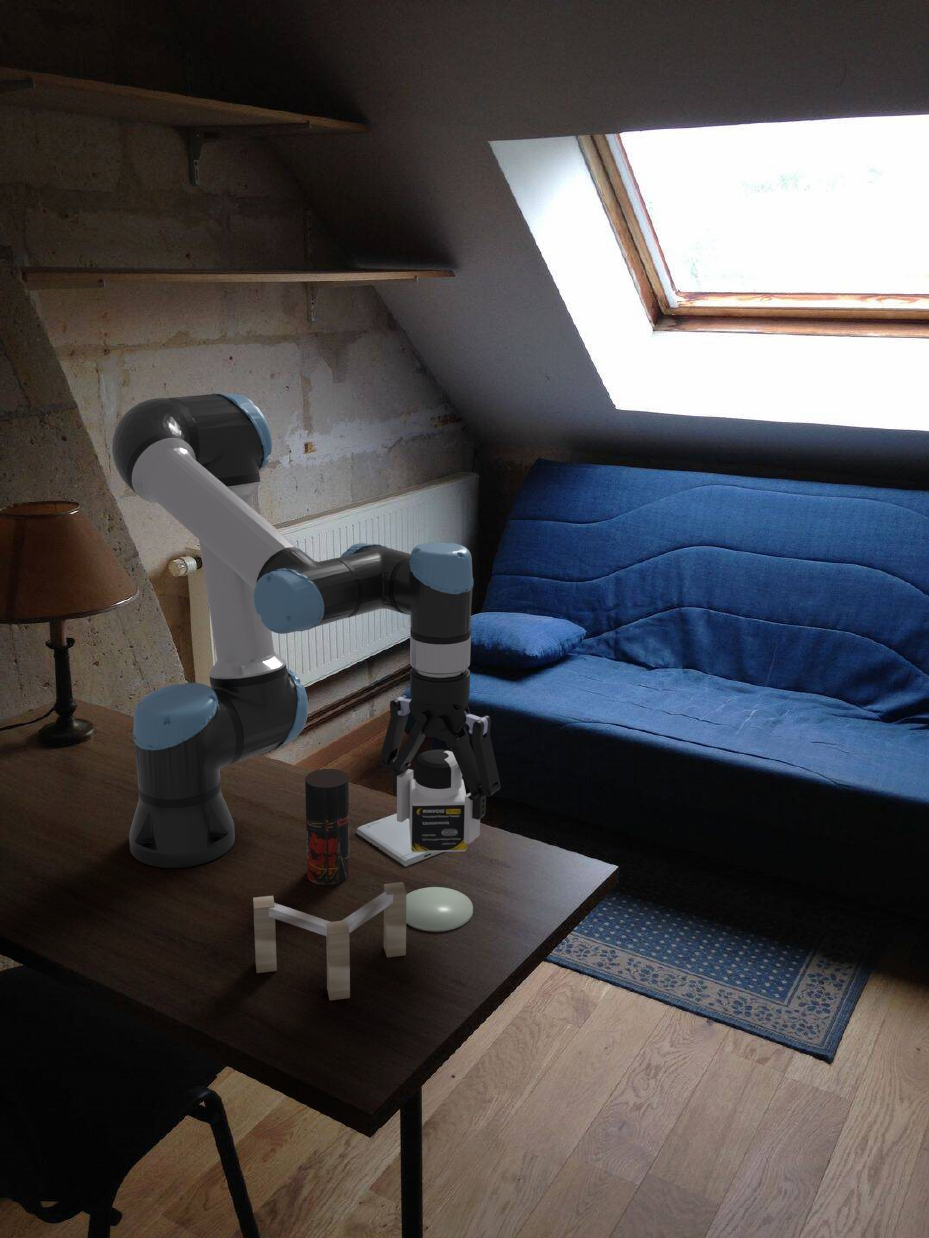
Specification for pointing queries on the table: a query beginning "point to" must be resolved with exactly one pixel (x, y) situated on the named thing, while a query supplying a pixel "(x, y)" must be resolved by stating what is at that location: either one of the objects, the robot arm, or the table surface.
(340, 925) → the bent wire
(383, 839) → the hard drive
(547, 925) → the table surface
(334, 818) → the deodorant
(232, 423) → the robot arm
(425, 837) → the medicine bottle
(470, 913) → the pad
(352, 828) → the table surface
